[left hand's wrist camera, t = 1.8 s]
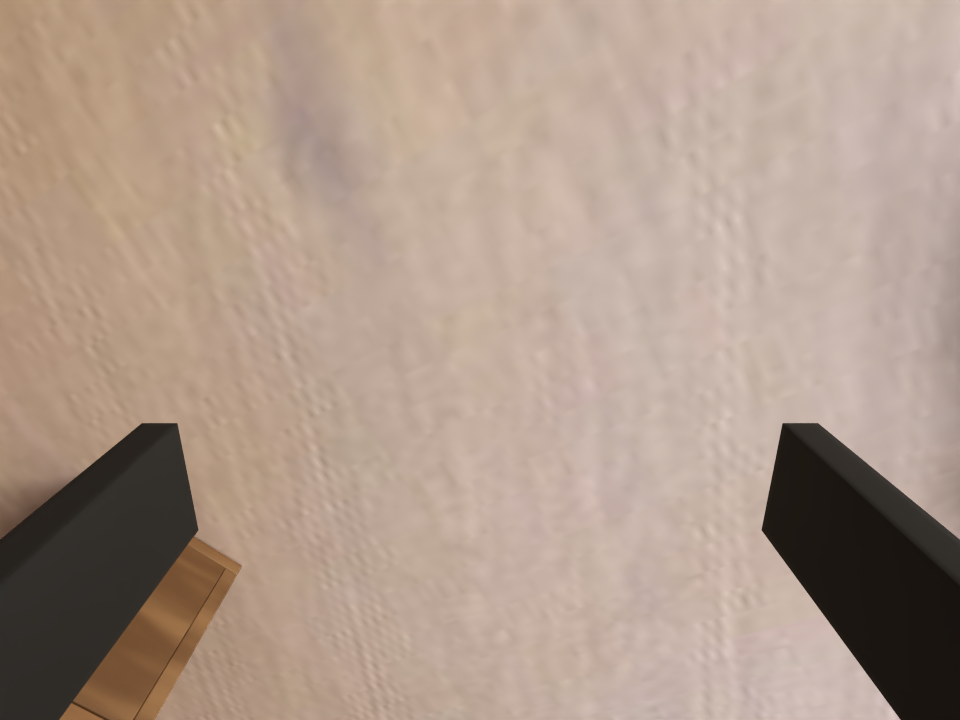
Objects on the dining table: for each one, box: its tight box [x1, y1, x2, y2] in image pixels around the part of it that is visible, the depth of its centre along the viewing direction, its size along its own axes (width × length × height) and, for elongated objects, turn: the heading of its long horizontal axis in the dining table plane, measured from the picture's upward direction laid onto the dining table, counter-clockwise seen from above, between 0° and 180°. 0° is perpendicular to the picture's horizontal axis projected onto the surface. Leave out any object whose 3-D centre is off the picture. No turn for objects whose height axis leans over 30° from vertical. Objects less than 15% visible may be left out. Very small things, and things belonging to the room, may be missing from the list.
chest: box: [72, 537, 241, 720], centre depth 30 cm, size 14×9×10 cm, turn 140°
